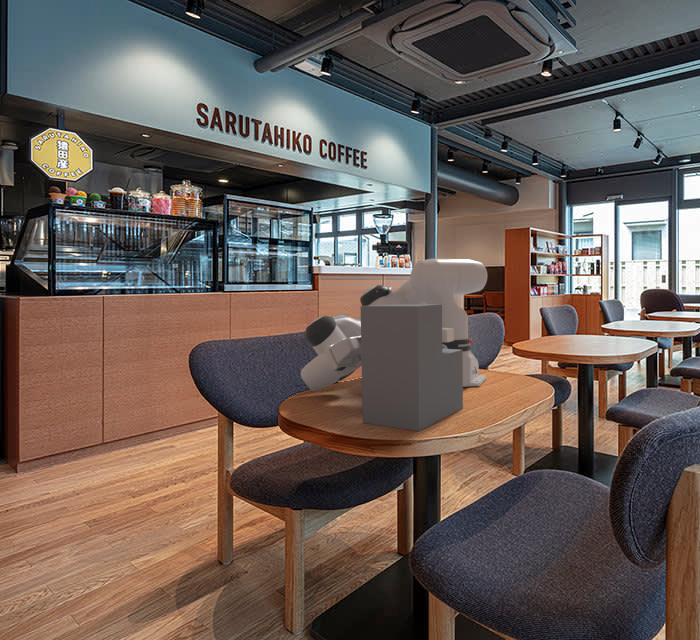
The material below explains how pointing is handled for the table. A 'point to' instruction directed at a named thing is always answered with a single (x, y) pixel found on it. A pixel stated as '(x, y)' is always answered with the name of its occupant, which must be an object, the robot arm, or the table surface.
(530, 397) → the table surface
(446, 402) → the grey l-shaped step block
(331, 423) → the table surface
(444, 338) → the beige rectangular post
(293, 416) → the table surface
